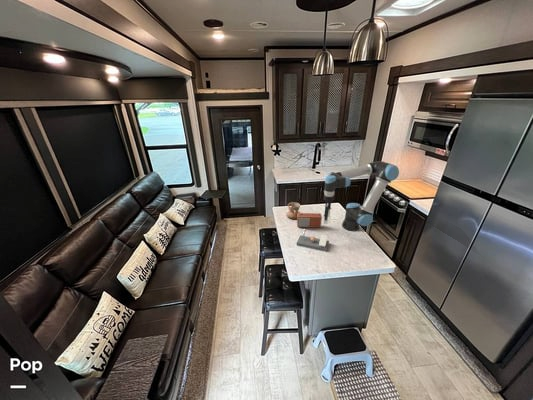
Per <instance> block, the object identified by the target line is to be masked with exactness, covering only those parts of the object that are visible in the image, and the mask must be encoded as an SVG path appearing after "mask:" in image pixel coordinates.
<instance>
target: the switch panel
mask: <svg viewBox="0 0 533 400" xmlns="http://www.w3.org/2000/svg"><path fill="white" fill-rule="evenodd" d="M311 237H312V236H311ZM311 237H310V236H306V235H304V239H303V235H299V237H298V238H297V241H296V246H298V247H303V248H309V249H313V250H316V251H322V252H327V251H328V247H329V244H330V240H327V241H326V246H325V247H322V246H319V242H320V238H316V237H315V238H316V241H314V242H313V241H311Z"/></svg>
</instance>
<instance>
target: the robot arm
mask: <svg viewBox="0 0 533 400" xmlns="http://www.w3.org/2000/svg"><path fill="white" fill-rule="evenodd" d="M365 175H369V176H370V175H376V176H375V181H374V184H373V185H372V188H371V189H370V191H369V192H368V195H367V196H366V198H365V200H364V202H363V204H360V203H357V202H349V203H347V204H346V207H345V208H346V209H345V215H344V220H343V222H342V224H341V226H342V228H343V229H344V230H347V231H352V232H354V231H358V230H359V229H360V227H361V226H362V227H367V226H369V225H371V224H372V222H373V220H374V217H373V215H374V211H373V210H374V209H375V207H376V205H377V203H378V202H379V199H380V198H381V196H382V194H383V192H384V190H385V189H386V187H387V186H388V184H390V183H391V182H392V181H395V180H396V179H398V177H399V175H400V169H399V167H398V165H395V164H393V163H388V162H385V161H381V160H380V161H373V162H372V161H371V162H368V163H366V164H365V165H362V166H358V167H354V168H350V169H345V170H342V171H341V170H340V171H337V172H333V171H330V172H329V173H327V175H326V176H325V181H324V190H323V193H324V195H323V200H324V201H325V206H324V207H325V208H324V214H323V224H325V225H328V220H329V218H330V215H331V210H332V207H331V205H332V202H333V201H334V200H335V194H336V193H335V190H336V189H337V188H339V189H340V188H346V187H349V186H350V185H351V179H353V178H357V177H361V176H365Z"/></svg>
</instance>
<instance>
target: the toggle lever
mask: <svg viewBox="0 0 533 400" xmlns="http://www.w3.org/2000/svg"><path fill="white" fill-rule="evenodd" d="M302 231H303V233H302V236H303V239H304V236H306V235H305V233H306V232H307V229H306V228H304V229H303V230H302Z"/></svg>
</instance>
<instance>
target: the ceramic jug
mask: <svg viewBox="0 0 533 400" xmlns="http://www.w3.org/2000/svg"><path fill="white" fill-rule="evenodd" d="M300 206H301V204H300V203H298V202H293V201H292V202H289V203H288V204H287V208H288V211H287V213H286V217H287V218H288V219H291V220H297V215H298V213H301V211H299V210H300Z"/></svg>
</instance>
